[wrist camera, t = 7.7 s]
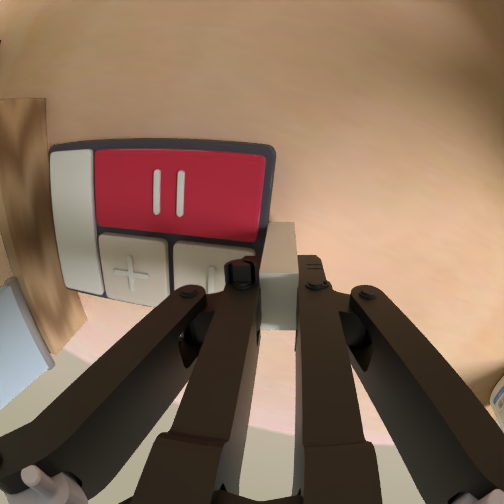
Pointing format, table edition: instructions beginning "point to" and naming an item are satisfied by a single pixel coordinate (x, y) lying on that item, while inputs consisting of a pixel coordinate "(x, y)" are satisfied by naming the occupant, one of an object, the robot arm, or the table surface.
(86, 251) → the calculator
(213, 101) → the table surface
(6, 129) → the wooden l-shaped bracket
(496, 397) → the supplement tub
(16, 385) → the light blue flat tile
